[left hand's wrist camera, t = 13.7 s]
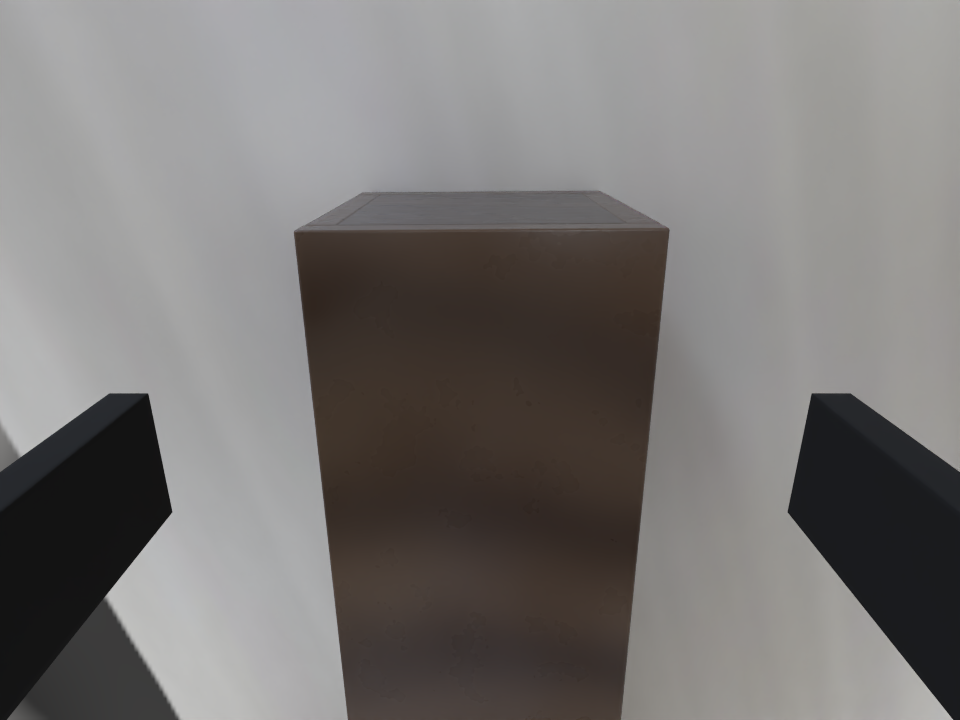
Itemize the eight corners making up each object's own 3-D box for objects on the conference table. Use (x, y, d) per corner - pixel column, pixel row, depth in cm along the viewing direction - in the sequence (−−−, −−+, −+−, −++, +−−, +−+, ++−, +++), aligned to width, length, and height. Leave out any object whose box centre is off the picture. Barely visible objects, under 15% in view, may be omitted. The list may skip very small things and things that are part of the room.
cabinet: (578, 558, 34) (619, 736, 24) (387, 559, 34) (349, 737, 24) (601, 190, 27) (670, 228, 17) (361, 192, 27) (292, 230, 17)
